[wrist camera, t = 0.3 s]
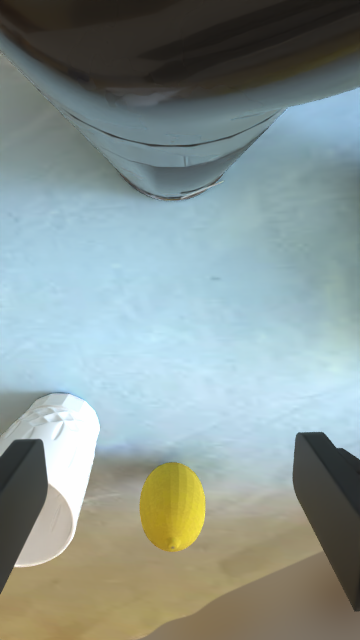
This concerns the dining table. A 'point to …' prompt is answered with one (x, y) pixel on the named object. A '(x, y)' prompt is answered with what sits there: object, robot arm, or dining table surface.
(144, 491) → the lemon
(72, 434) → the white cup
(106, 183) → the dining table surface
